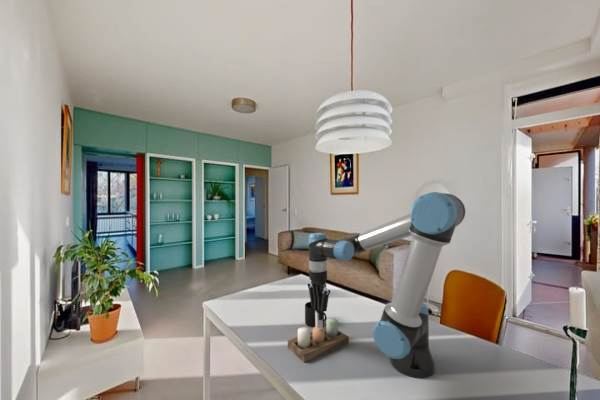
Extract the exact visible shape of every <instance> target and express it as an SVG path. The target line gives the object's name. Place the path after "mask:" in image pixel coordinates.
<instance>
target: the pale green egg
mask: <svg viewBox="0 0 600 400" xmlns="http://www.w3.org/2000/svg"><path fill="white" fill-rule="evenodd" d="M325 322H326V323H325V324H326V326H325V327H326V334H327V336H329V337H330V338H334V337H336V336H338V330H339V320H338V319H337V318H334V317H330V318H327V319H326V321H325Z"/></svg>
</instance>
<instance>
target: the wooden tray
mask: <svg viewBox="0 0 600 400" xmlns="http://www.w3.org/2000/svg"><path fill="white" fill-rule="evenodd" d="M323 328H324V332H325V341H324V342H321V343H318V344H317V343H315V342H314V341H313V331H310V347H308V348H306V349H301V348H299V347H298V336H297V337H293V338H290V339H288V340H287V348H288V350H289V351H291V352H292V354H294V355H295V356H296V357H297V358H298V359H300V361H302V362H303V364H304V363H307V362H309V361H311V360H314V359H316V358H318V357H321V356H323V355H326V354H328V353H330V352H332V351H335V350H337V349H340V348H342V347H344V346H347V345H349V344H350V342H349V338H350V337H349V336H348V335H346V334H345V333H344V332H342V331H340V330H339V329H338V336H336V337H334V338H332V337H329V336H327V334H326V326H324V327H323Z"/></svg>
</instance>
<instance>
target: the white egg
mask: <svg viewBox="0 0 600 400" xmlns="http://www.w3.org/2000/svg"><path fill="white" fill-rule="evenodd" d="M310 332H311V330H310V328H309V327H305V326H303V327H299V328H298V329H297V337H298V347H299V348H300V349H301V350H303V349H306V348H308V347H310Z"/></svg>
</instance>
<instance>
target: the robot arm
mask: <svg viewBox="0 0 600 400" xmlns="http://www.w3.org/2000/svg"><path fill="white" fill-rule="evenodd" d="M465 216H466V208H465V204H464V203H463V201H462V200H461V199H460V198H459V197H457V196H456V195H453V194H451V193H447V192H445V193H444V192H437V191H435V192H434V191H433V192H426V194H425V193H424V194H423V195H420V196H419V197H417V198H416V199H415V200H414V201H413V202H412V204H411V207H410V211H409V214H405V215H403V216H401V217H399V218H396V219H393V220H391V221H388V222H386V223H384V224H381V225H378V226H376V227H374V228H370V229H368V230H366V231H364V232H361V233H358V234H355V235H353V236H350V237H345V238H341V239H329V238H328V237H327V234H326V233H323V232H314V233H310V234H309V236H308V254H309V255H308V256H309V257H308V258H309V259H308V270H309V271H308V276H309V278H308V279H309V280H310V282H309V283H307V288H308V293H309V299H310V301H309V302H311V307H313V308H314V310H315V327H317V328H319V327H323V325H324V324H323V312H324V313H325V312H327V310H328V304H329V303H328V302H329V296H330V294H331V290H330V289H328V288H327V284H326V281H327V280H328V271H327V269H328V262H327V261H328V259H334V260H339V261H347V262H348V261H350V260H351V259H352V258H353V256H354V255H359V254H363V253H364V252H368V251H370V250H372V249H375V248H378V247H381V246H384V245H387V244H391V243H393V242H396V241H399V240H402V239H406V238H408V237H410V236H412V237H411V240H410V243H409V245H408V248H407V249H408V250H407V253H406V254H405V258H404V262H403V263H402V264H403V265H402V267H401V272H400V273H399V278H398V280H397V284H396V287H395V290H394V292H393V293H394V294H393V295H392V300H391V302H388V303H386V304H385V306H384V307H383V311H382V315H381V318H380V320H379V321H377V322H375V325H374V326H373V328H372V337H373V340H374V342H375V344H376V347H377V348H378V349H379V350H380V351H381V353H383V354H384V355H385V356H387V357H389V363H390V364H391V366H392V367H393V368H394V370H396V371H398V372H399V373H401V374H403V375H405V376H408V377H412V378H419V379H423V378H424V379H425V378H428V377H431V376H432V375H434V373H435V361H434V358H433V355H432V352H431V349H430V345H429V344H430V339H429V338H430V336H429V331H430V330H429V326H430V325H429V323H430V322H429V316H430V314H429V308H428V306H427V305H426V303H424V300H425V298H426V295H427V292H428V289H429V287H430V283H431V280H432V277H433V274H434V272H435V269H436V265H437V262H438V261H439V258H440V253H441V251H442V248H443V247H444V246H447V245H449V244H450V243H451V240H452V238H453V236H454V233H455V229H456V227H458V226H459V225H460V224H461V223H462V222H463V221H464V220H465Z"/></svg>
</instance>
